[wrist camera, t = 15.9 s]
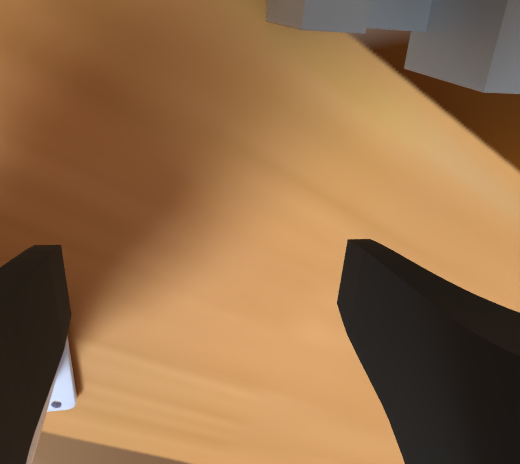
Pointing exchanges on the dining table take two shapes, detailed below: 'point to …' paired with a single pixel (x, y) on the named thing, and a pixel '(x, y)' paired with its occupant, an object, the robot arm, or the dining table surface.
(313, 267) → the dining table surface
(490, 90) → the grey stepped block
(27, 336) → the robot arm
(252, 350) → the dining table surface
